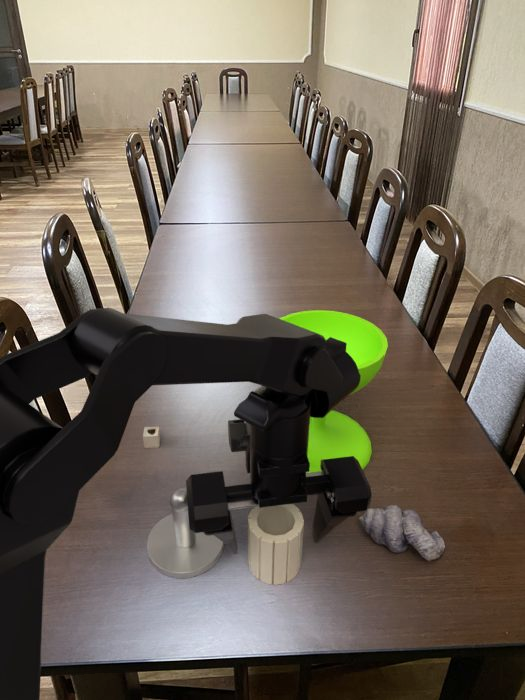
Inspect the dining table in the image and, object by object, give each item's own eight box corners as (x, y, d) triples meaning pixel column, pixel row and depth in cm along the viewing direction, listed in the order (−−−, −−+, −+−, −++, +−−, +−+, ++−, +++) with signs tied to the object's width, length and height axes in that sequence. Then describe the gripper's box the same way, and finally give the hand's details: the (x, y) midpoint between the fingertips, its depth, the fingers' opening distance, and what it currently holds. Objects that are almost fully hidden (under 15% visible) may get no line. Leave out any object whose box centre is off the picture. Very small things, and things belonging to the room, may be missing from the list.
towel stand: (147, 584, 59) (138, 529, 55) (147, 520, 67) (140, 468, 62) (228, 572, 61) (226, 518, 56) (220, 511, 68) (217, 459, 64)
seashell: (441, 560, 64) (357, 537, 67) (448, 515, 64) (365, 494, 67) (442, 571, 59) (352, 546, 62) (450, 522, 59) (360, 499, 62)
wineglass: (325, 398, 89) (334, 300, 79) (395, 455, 77) (414, 348, 68) (242, 432, 81) (241, 328, 72) (305, 500, 70) (314, 387, 61)
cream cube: (160, 438, 80) (159, 425, 79) (159, 447, 78) (157, 434, 77) (145, 438, 80) (144, 425, 79) (144, 448, 78) (142, 435, 77)
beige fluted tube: (252, 588, 59) (252, 546, 55) (245, 543, 64) (244, 502, 60) (306, 580, 60) (309, 538, 56) (294, 537, 65) (296, 495, 61)
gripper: (346, 383, 60) (335, 483, 69) (179, 398, 58) (188, 501, 66) (381, 449, 51) (364, 556, 59) (184, 471, 48) (194, 581, 56)
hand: (275, 545), depth 60 cm, fingers open, 9 cm apart
